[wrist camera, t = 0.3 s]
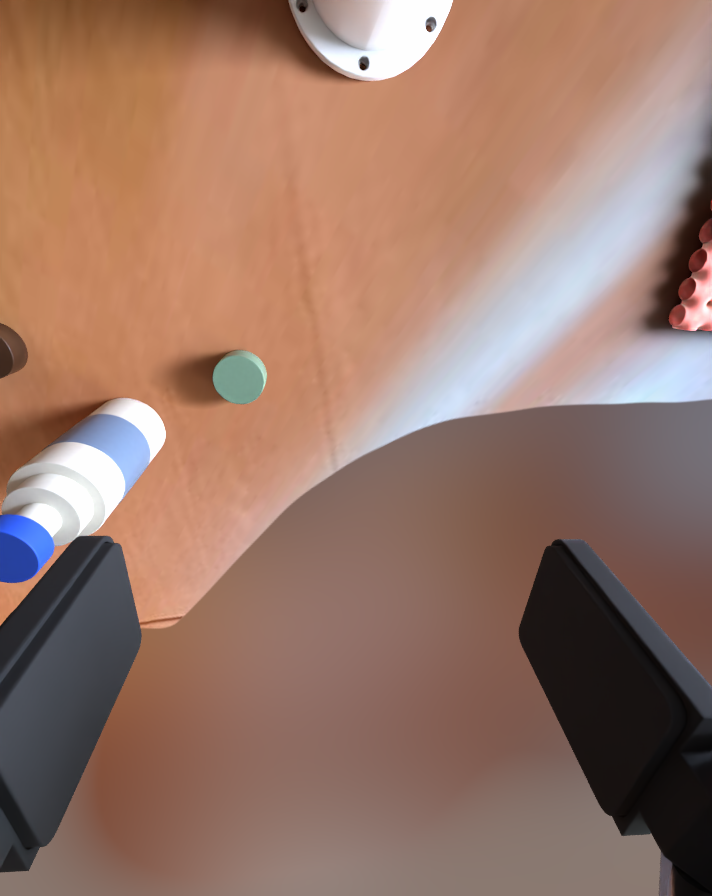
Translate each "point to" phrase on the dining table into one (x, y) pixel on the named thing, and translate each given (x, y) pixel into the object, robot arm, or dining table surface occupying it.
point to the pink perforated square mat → (697, 288)
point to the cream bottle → (75, 484)
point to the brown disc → (11, 351)
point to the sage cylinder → (239, 377)
